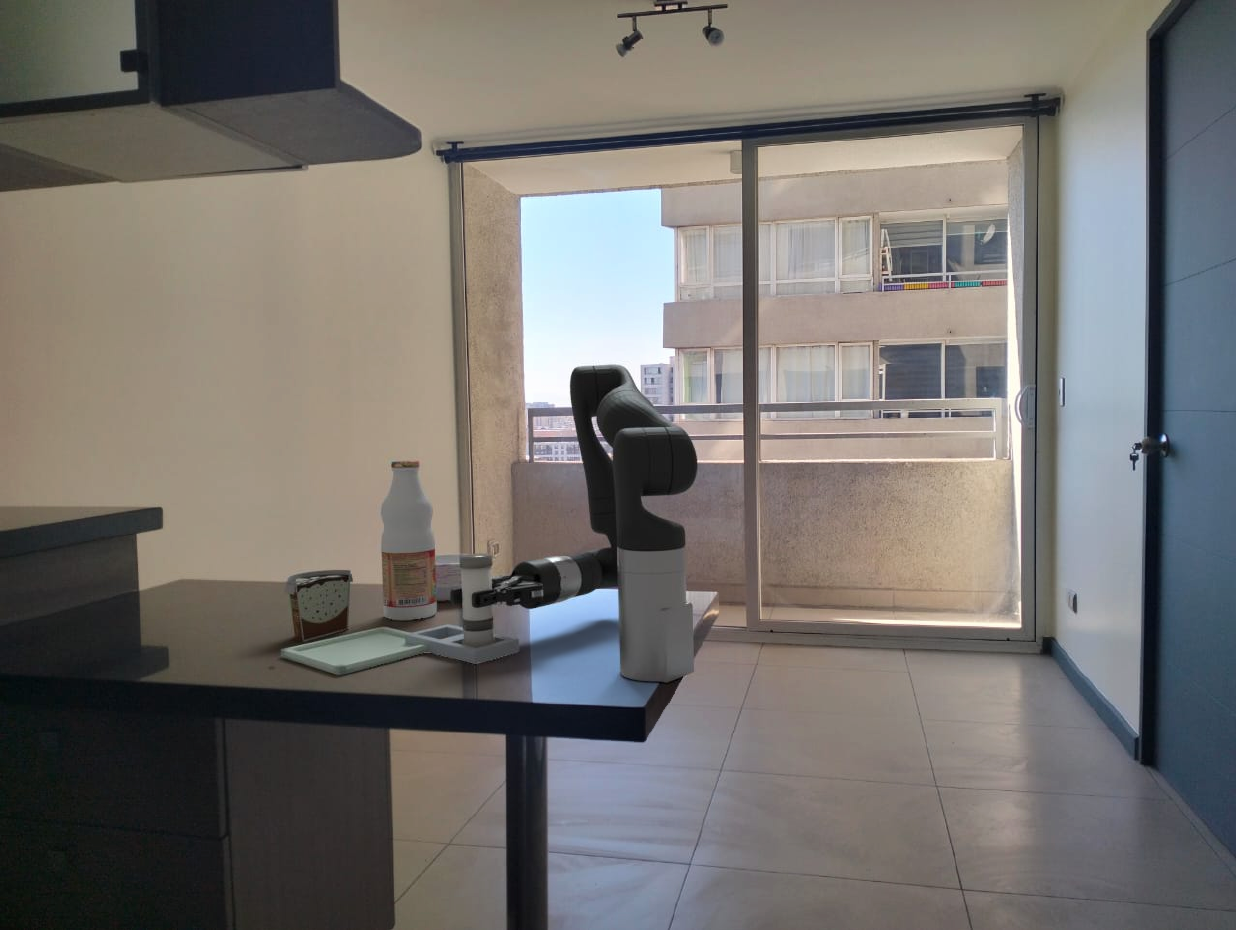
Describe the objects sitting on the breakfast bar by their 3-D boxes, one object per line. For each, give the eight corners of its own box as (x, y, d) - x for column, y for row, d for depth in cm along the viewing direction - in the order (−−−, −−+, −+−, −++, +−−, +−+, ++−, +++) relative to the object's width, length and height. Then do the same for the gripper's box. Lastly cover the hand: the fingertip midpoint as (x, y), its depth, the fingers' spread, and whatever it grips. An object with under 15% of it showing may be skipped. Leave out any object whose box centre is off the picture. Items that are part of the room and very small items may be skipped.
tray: (444, 648, 135) (444, 640, 135) (339, 675, 121) (339, 667, 121) (384, 633, 145) (383, 626, 145) (281, 657, 132) (281, 649, 132)
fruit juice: (372, 617, 158) (367, 462, 157) (414, 608, 165) (409, 459, 164) (406, 623, 152) (400, 462, 151) (448, 613, 160) (443, 460, 158)
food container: (330, 624, 153) (327, 567, 153) (354, 627, 150) (352, 569, 150) (270, 640, 143) (267, 579, 142) (295, 644, 140) (292, 581, 139)
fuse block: (519, 652, 131) (518, 639, 131) (475, 665, 125) (474, 651, 125) (448, 636, 142) (448, 624, 142) (405, 647, 136) (404, 634, 136)
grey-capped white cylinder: (502, 648, 131) (498, 554, 130) (476, 655, 127) (473, 559, 127) (481, 643, 134) (477, 552, 134) (456, 650, 131) (452, 556, 130)
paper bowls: (501, 591, 180) (500, 553, 179) (462, 607, 166) (460, 565, 165) (437, 588, 185) (436, 551, 185) (394, 602, 171) (393, 562, 171)
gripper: (515, 554, 146) (431, 569, 133) (578, 561, 136) (493, 577, 123) (517, 599, 146) (433, 618, 133) (579, 609, 137) (495, 630, 124)
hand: (463, 598), depth 128 cm, fingers closed on grey-capped white cylinder, 4 cm apart
